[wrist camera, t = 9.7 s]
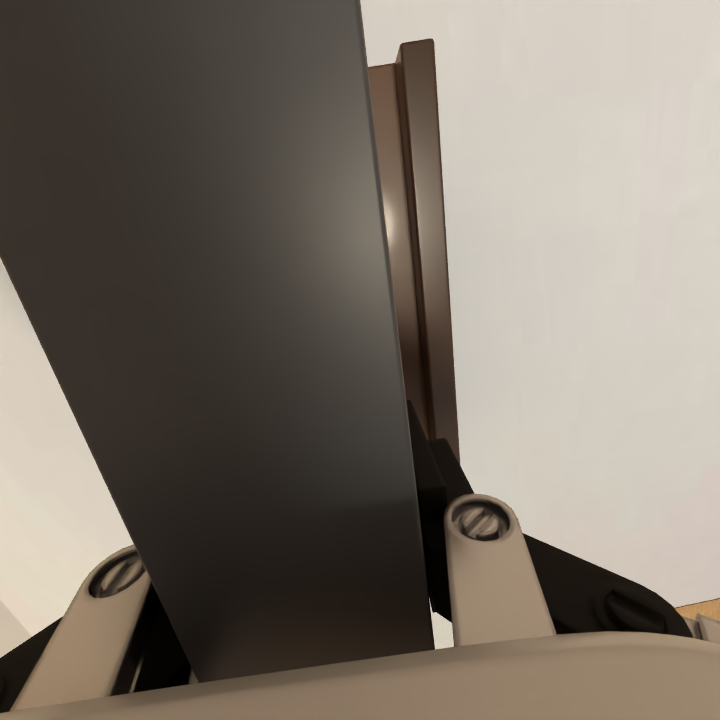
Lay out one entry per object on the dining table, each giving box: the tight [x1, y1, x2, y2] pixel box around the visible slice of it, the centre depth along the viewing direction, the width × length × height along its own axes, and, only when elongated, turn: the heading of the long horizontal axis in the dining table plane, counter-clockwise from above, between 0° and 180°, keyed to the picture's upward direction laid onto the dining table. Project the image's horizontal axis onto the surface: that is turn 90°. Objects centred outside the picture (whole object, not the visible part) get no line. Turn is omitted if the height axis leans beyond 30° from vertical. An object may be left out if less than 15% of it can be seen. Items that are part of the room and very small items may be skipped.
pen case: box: [0, 0, 435, 683], centre depth 8 cm, size 4×18×6 cm, turn 8°
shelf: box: [368, 39, 460, 464], centre depth 19 cm, size 10×22×11 cm, turn 8°
